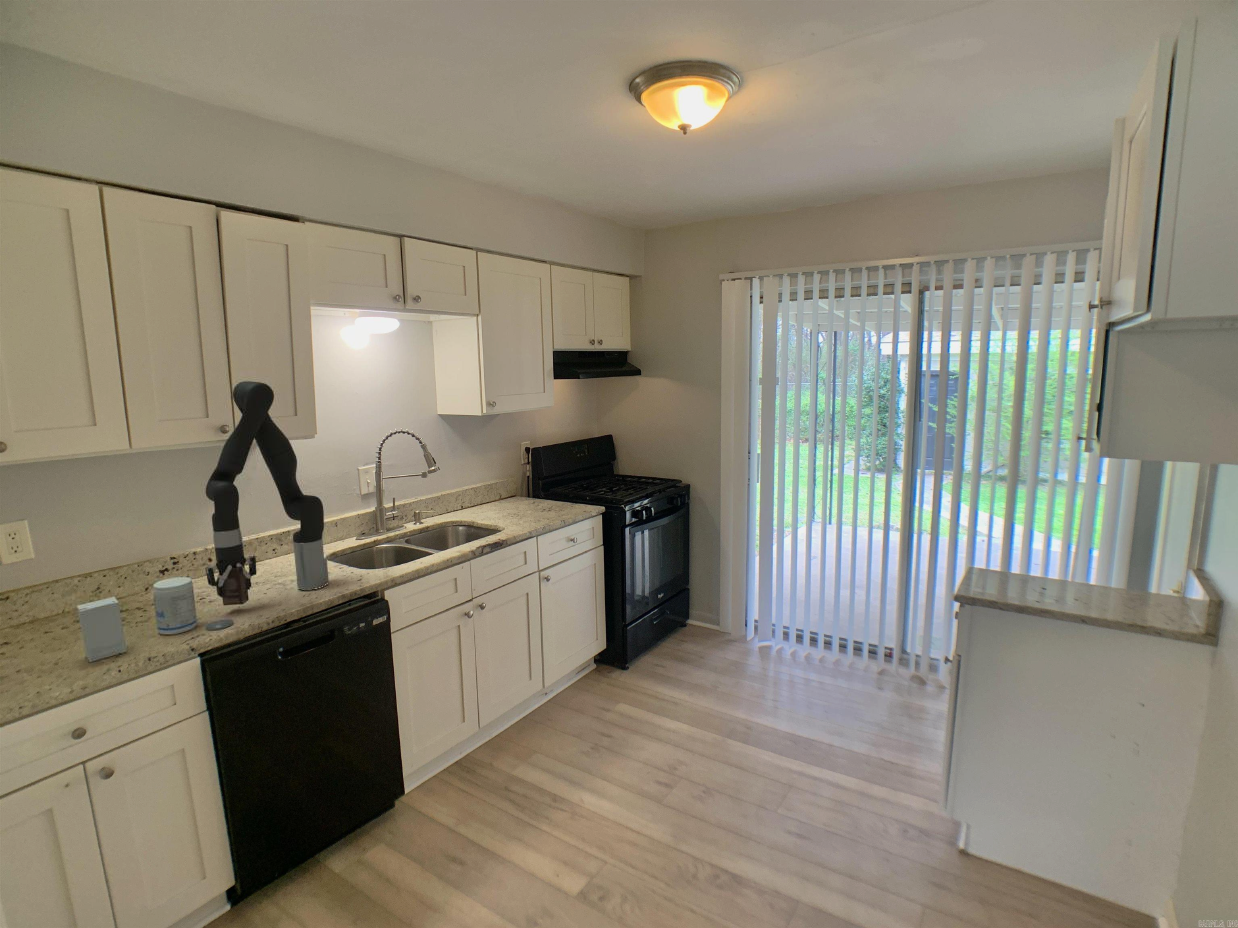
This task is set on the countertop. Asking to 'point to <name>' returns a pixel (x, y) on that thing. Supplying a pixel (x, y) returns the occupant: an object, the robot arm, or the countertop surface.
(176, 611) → the supplement tub
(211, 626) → the slate coaster
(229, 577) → the box
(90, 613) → the skincare box
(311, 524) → the robot arm
